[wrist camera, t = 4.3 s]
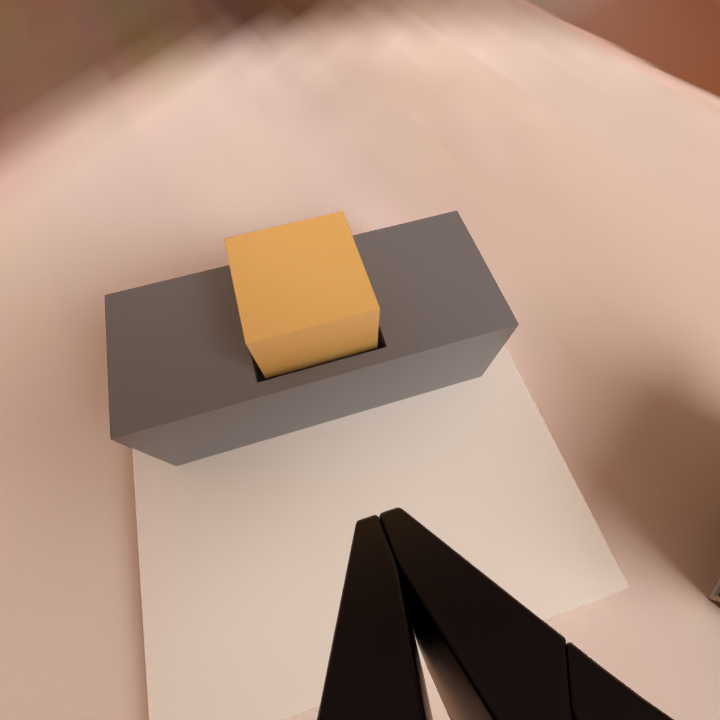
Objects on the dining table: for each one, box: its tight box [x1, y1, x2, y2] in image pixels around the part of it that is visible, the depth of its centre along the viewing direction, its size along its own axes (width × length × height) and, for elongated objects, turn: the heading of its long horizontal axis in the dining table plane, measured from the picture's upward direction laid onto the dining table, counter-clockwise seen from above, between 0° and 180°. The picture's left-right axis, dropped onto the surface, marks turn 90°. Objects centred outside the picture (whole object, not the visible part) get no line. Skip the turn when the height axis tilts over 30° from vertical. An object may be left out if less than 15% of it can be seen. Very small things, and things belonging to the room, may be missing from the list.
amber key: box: [224, 211, 380, 379], centre depth 15 cm, size 5×5×3 cm
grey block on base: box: [105, 211, 630, 720], centre depth 18 cm, size 18×20×7 cm
